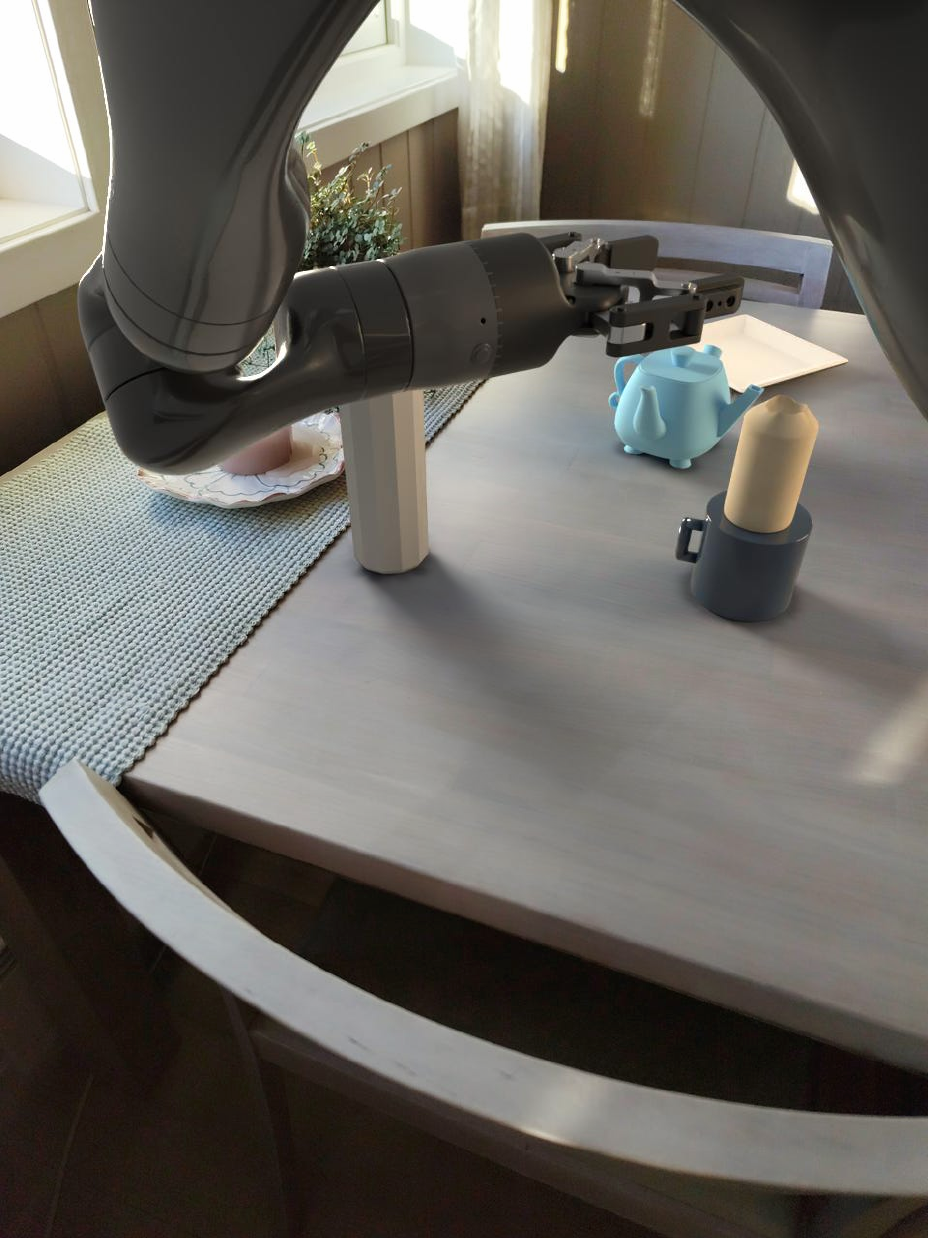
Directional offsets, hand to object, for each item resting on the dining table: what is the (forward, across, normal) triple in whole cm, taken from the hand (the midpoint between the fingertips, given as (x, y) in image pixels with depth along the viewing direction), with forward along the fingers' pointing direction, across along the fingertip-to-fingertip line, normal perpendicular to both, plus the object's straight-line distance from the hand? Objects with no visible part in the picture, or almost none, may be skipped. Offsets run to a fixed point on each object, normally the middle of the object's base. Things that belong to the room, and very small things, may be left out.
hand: (694, 271), depth 54 cm
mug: (+11, 0, +29) cm, 31 cm away
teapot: (+21, +24, +29) cm, 44 cm away
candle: (+11, 0, +22) cm, 24 cm away
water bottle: (-15, +20, +29) cm, 38 cm away
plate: (+43, +39, +29) cm, 65 cm away
